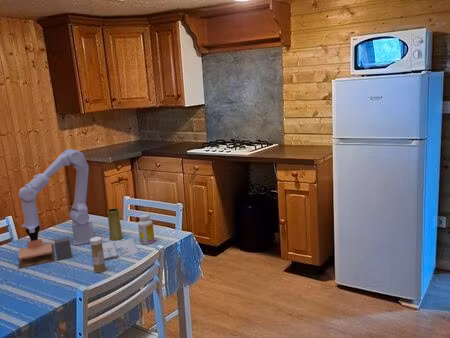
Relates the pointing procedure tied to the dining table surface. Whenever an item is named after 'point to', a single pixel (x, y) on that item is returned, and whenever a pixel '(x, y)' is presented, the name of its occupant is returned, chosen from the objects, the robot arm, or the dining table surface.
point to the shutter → (35, 249)
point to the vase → (114, 224)
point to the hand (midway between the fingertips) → (35, 243)
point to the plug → (63, 249)
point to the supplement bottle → (145, 229)
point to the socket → (37, 260)
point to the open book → (124, 249)
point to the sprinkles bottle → (97, 254)
